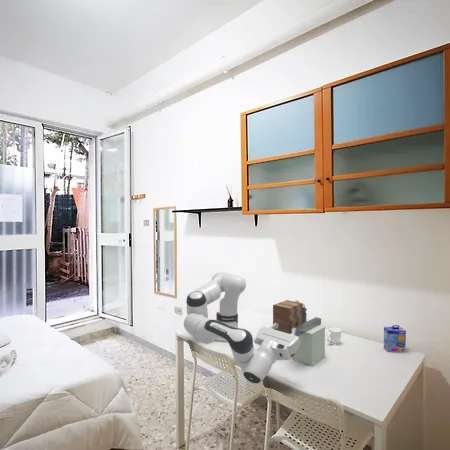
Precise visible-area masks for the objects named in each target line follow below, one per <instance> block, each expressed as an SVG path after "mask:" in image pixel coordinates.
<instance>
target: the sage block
mask: <svg viewBox="0 0 450 450" xmlns="http://www.w3.org/2000/svg"><path fill="white" fill-rule="evenodd" d="M295 336H296V335H295ZM298 337H299V340H300V346H299V347H298V349H297V350H296V352H295V353H294V355H293V357H294V358H293V360H294V361H296V362H299V363H302V364H304V365H308V366H309V367H313V366H315V365H316V364H317V363H319V362H320V361H322V360H323V359H324V358H326V327H325V326H323V325H321V324H320V325H318V326H316V327H314V328H313V329H311V330H309V331H307V332H305V333H303V334H301V335H299V336H298Z"/></svg>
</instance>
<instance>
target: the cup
mask: <svg viewBox="0 0 450 450" xmlns="http://www.w3.org/2000/svg"><path fill="white" fill-rule="evenodd" d="M328 331H329V332H328V334H327V337H326V338H327V339H326V340H327V342H328V344H331V345H336V346H339V345H340V341H341V336H342V333H343V331H342V329H341V328H339V327H330V328H329V329H328ZM329 338H330V339H329Z"/></svg>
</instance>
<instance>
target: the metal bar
mask: <svg viewBox="0 0 450 450" xmlns="http://www.w3.org/2000/svg"><path fill="white" fill-rule="evenodd" d="M321 324H322V317H321V318H320V317H316V316H315V317H314V318H312V319H309V320H307V322H305V323H303V324H301V325H299V326H297V327H295V328H296V332H295V335H296V336H299V335H301V334H303V333H305V332H307V331H309V330H311V329H313V328H314V327H316V326H318V325H320V326H321Z"/></svg>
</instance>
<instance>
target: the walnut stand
mask: <svg viewBox="0 0 450 450" xmlns="http://www.w3.org/2000/svg"><path fill="white" fill-rule="evenodd" d="M303 304H304V303H303V302H300V303H299V302H295V301H294V300H293V301H292V300H287V299H286V300H283V301H281V302H277V303H274V304H273V305H272V316H273V317H272V325H274V324H275V323H278V325H279V327H278V328H275V329H274V330H278V331H281V332H284V333H288V334H291V333H292V331H291V329H292V328H295V327H297V326H299V325H301V324H303ZM292 357H294V354H292V355H291V358H292Z"/></svg>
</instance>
